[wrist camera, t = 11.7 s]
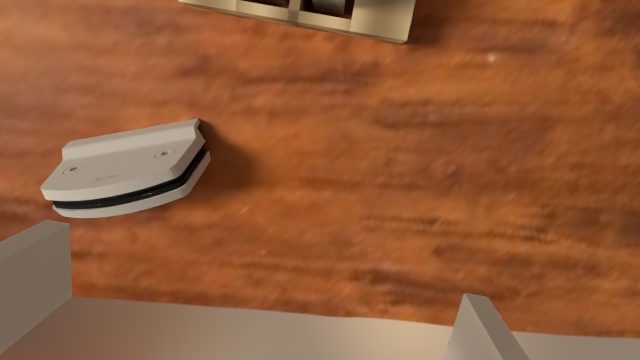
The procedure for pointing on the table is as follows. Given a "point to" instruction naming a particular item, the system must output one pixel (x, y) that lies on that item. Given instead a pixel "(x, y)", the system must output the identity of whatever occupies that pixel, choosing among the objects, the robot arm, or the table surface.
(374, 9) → the beige open box
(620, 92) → the table surface
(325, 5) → the grey notched block
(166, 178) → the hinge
